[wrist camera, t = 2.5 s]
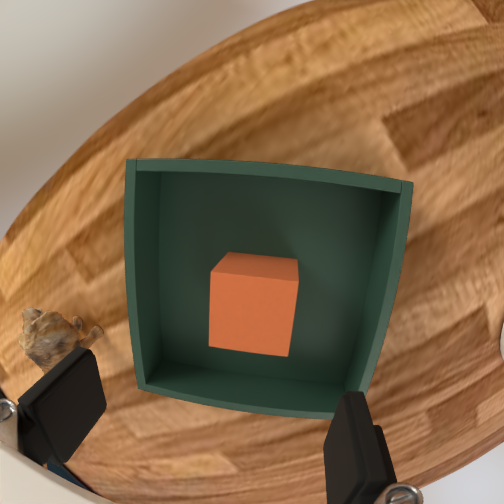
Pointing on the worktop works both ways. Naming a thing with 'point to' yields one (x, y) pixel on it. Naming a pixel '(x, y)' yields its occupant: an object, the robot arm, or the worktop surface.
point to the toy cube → (253, 303)
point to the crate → (268, 244)
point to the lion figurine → (52, 337)
